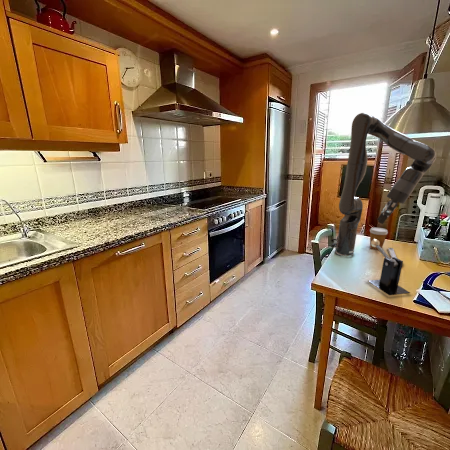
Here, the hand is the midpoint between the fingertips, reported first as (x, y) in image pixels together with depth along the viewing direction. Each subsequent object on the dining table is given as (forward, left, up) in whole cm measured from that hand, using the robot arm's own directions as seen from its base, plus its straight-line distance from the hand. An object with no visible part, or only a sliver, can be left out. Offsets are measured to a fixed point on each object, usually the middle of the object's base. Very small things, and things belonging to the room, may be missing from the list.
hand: (379, 221), depth 116 cm
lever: (+11, -6, -12) cm, 17 cm away
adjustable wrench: (-11, +24, -25) cm, 36 cm away
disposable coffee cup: (-26, +25, -25) cm, 44 cm away
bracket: (+17, -6, -25) cm, 31 cm away
